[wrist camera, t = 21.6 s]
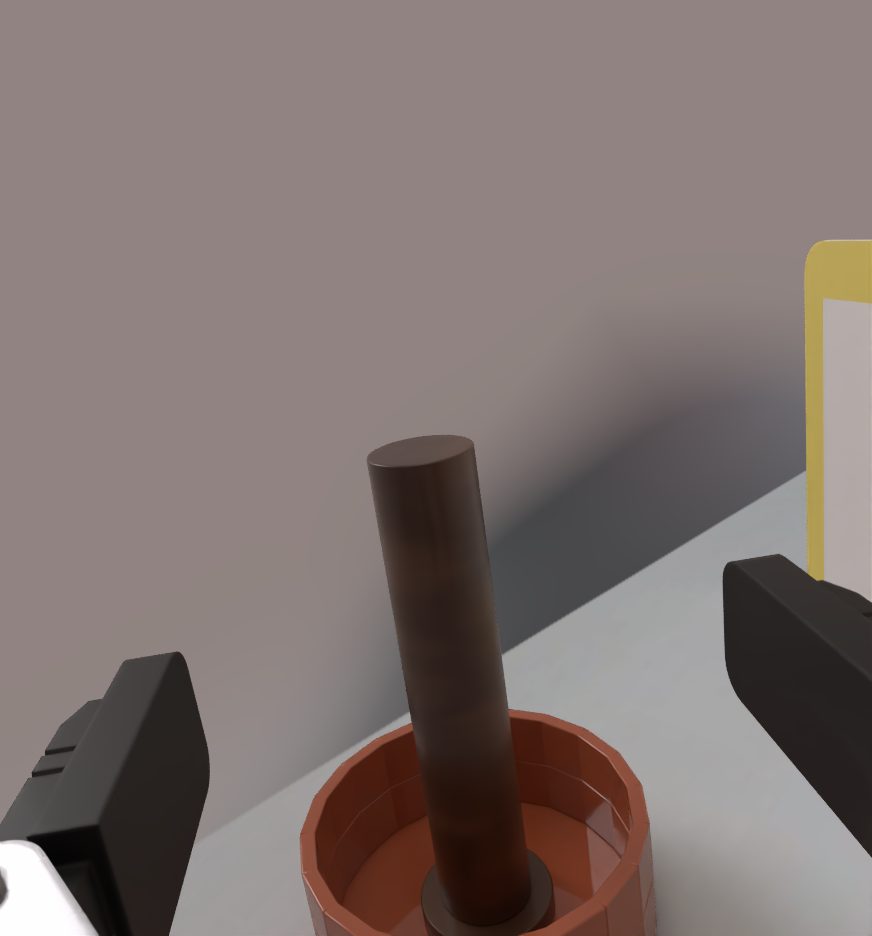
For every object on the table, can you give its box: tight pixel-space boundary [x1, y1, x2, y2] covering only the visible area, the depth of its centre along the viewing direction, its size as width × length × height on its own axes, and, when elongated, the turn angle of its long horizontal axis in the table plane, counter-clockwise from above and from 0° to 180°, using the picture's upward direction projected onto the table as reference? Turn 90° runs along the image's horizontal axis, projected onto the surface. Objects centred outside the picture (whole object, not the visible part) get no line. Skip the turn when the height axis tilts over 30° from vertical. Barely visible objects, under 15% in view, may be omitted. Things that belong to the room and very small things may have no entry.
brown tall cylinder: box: [367, 435, 555, 936], centre depth 24 cm, size 4×4×16 cm
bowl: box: [300, 709, 657, 936], centre depth 26 cm, size 11×11×4 cm
